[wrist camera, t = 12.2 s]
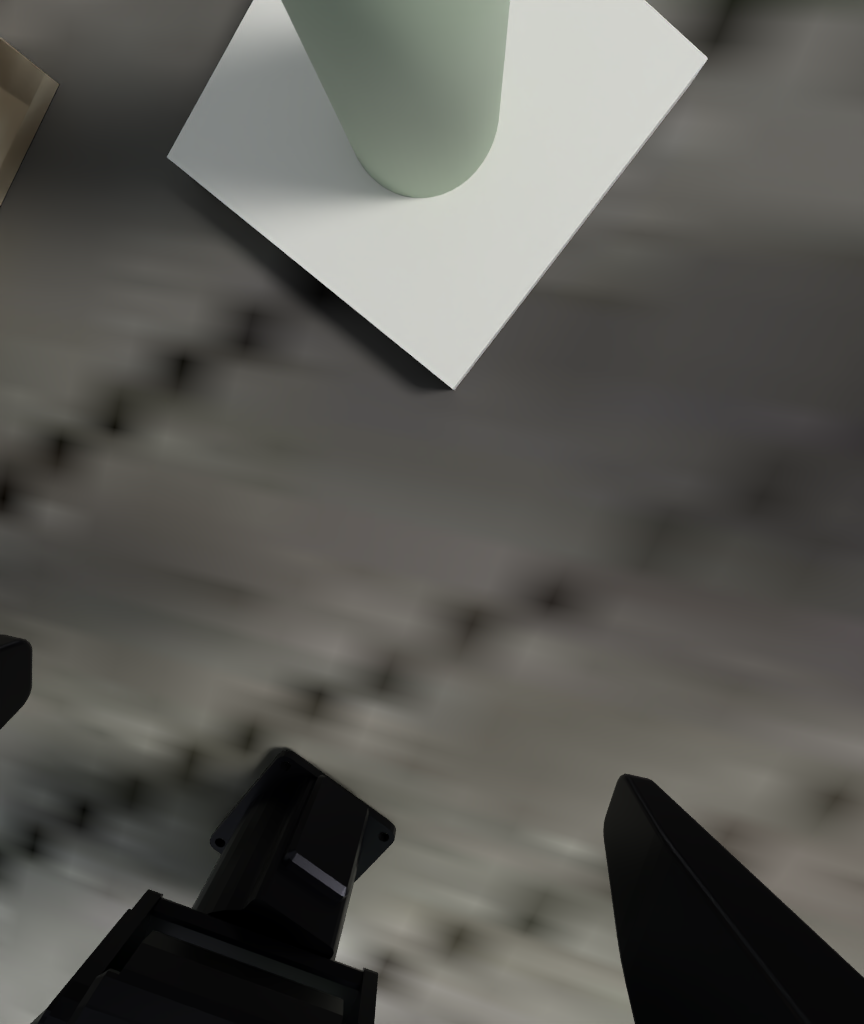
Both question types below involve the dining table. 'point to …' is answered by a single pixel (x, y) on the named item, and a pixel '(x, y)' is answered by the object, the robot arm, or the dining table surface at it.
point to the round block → (410, 83)
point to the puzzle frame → (19, 109)
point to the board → (458, 213)
